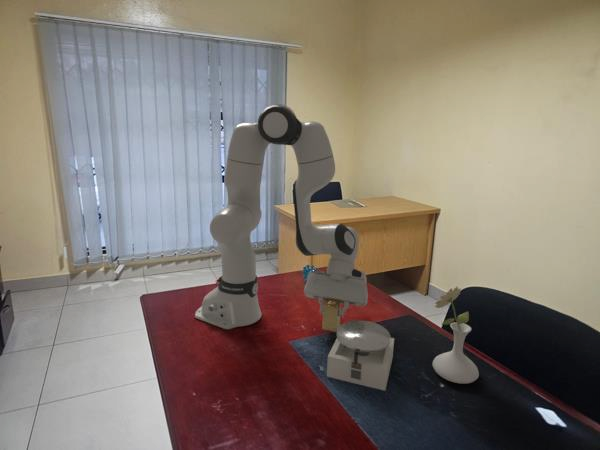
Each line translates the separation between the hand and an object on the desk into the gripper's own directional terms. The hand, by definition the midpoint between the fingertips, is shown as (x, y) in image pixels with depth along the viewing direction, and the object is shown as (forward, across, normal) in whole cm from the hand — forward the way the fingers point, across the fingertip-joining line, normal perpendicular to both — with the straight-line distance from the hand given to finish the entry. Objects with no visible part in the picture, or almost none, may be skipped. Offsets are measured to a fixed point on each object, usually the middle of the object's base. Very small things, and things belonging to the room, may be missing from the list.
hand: (331, 314), depth 116 cm
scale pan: (+12, +12, -9) cm, 19 cm away
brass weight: (+3, 0, +4) cm, 5 cm away
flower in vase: (+11, +35, -2) cm, 37 cm away
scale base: (+14, +12, -5) cm, 19 cm away
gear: (-20, -16, +30) cm, 40 cm away
